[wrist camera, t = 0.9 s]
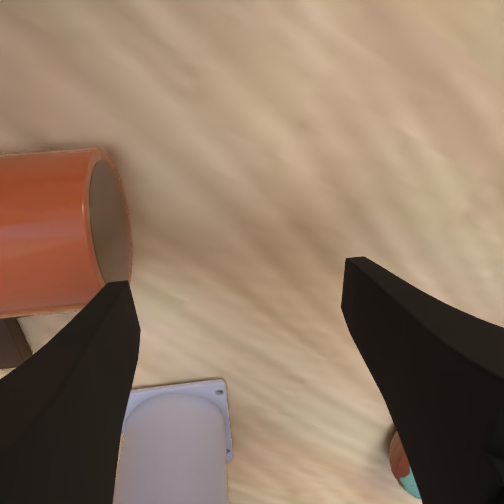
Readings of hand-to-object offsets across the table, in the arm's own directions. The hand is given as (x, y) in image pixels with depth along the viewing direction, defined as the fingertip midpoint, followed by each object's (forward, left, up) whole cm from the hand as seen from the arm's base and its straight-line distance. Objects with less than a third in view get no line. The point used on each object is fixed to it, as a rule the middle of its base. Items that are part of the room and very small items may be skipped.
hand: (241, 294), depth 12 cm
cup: (0, +9, -9) cm, 13 cm away
